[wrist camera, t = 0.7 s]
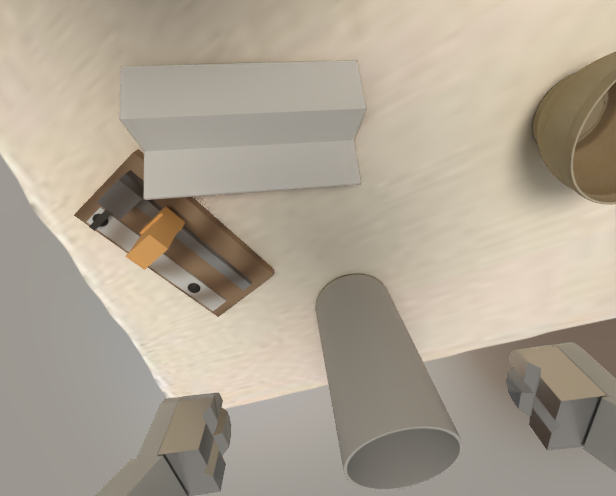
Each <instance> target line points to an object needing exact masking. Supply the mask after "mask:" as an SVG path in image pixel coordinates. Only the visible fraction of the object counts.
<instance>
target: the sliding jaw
mask: <svg viewBox="0 0 616 496" xmlns="http://www.w3.org/2000/svg"><path fill="white" fill-rule="evenodd" d="M184 224H185V222H184V221H183V220H182V219H181V218H179V217H178V216H177V215H176V214H175V213H173V212H172V211H171V210H170V209H169V208H167V207H166V206H165V207H164V208H163V209H162V210H161V211H160V212H159V213H158V214H157V215H156V216H155V217H154V218H153V219H151V220H150V221H149V222H148V223H147V224H146V225H145V226H144V228H143V229H142V230H141V232H140V234H142V235H141V236H140V238H139V239H138V240H137V242H136V243H135V244H134V246H133V247H132V249H131V250H130V251H129V253H128V254H127V255H126V257H127V258H129V259H130V260H131V261H133V262H134V263H136V264H137V265H139V266H140V267H141V268H143V269H144V270H145V269H146V268H147V267H148V266H150V265H151V264H152V263H153V262H154V261H155V260H156V259H157V258H159V257H160V256H161V255H162V254H163V253H164V252H165V251H166V250H168V248H169V246H170V245H171V243H172V241H173V239H174V237H175V235H176V234H177V233H178V232H179V231H180V230H181V229H182V227H183V226H184Z"/></svg>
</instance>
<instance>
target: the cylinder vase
mask: <svg viewBox="0 0 616 496" xmlns="http://www.w3.org/2000/svg"><path fill="white" fill-rule="evenodd" d="M316 315H317V321H318V326H319V332H320V338H321V344H322V349H323V355H324V361H325V367H326V372H327V378H328V384H329V390H330V395H331V401H332V407H333V413H334V418H335V423H336V430H337V435H338V441H339V447H340V453H341V459H342V464H343V470H344V474H345V477H346V478H347V480H348V481H350V482H351V483H352V484H354V485H356V486H358V487H361V488H365V489H370V490H396V489H403V488H408V487H412V486H416V485H419V484H422V483H425V482H427V481H430V480H432V479H434V478H436V477H438V476H440V475H441V474H443V473H445V472H446V471H447V470H449V469H450V468H451V467H452V466H453V465H455V463H456V462H457V461H458V460H459V458H460V457H461V455H462V452H463V442H462V440H461V438H460V436H459V434H458V432H457V430H456V428H455V426H454V424H453V422H452V420H451V418H450V416H449V414H448V412H447V410H446V408H445V406H444V404H443V402H442V400H441V397H440V395H439V394H438V392H437V389H436V388H435V385H434V384H433V381H432V379H431V377H430V375H429V373H428V371H427V369H426V367H425V365H424V363H423V361H422V359H421V357H420V355H419V353H418V351H417V349H416V347H415V345H414V343H413V341H412V339H411V337H410V335H409V333H408V331H407V329H406V327H405V325H404V323H403V321H402V319H401V317H400V315H399V313H398V311H397V309H396V307H395V305H394V303H393V301H392V299H391V297H390V295H389V293H388V291H387V289H386V287H385V286H384V285H383V284H382V283H381V282H380V281H379V280H377V279H376V278H374V277H371V276H368V275H362V274H353V275H347V276H343V277H340V278H338V279H336V280H334V281H332V282H331V283H329V284H328V285H327V286H326V287H325V288H324V289H323V290H322V292H321V293H320V295H319V296H318V299H317V302H316Z"/></svg>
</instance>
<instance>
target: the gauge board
mask: <svg viewBox="0 0 616 496" xmlns="http://www.w3.org/2000/svg"><path fill="white" fill-rule="evenodd" d="M165 206H166V207H167V208H169V209H170V210H171V211H172V212H173V213H175V214H176V215H177V216H178V217H179V218H181V219H182V220H183V221H184V222H185V224H184V226H183V227H182V229H181V230H180V231H179V232H178V233H177V234H176V235H175V237H174V239H173V241H172V243H171V245H170V246H169V248H168V250H166V251H165V252H164V253H163V254H162V255H161V256H160V257H159V258H157V259H156V260H155V261H154V262H153V263H152V264H151V265H150V266H148V268H149V269H151V270H152V271H154V272H155V273H157V274H158V275H159V276H161V277H162V278H164V279H165V280H166V281H168V282H169V283H171V284H172V285H174V286H175V287H176V288H178V289H179V290H181V291H182V292H184V293H185V294H186V295H188V296H189V297H191V298H192V299H193V300H195V301H196V302H198V303H199V304H201V305H202V306H203V307H205V308H206V309H208V310H209V311H211V312H212V313H213V314H215V315H216V316H218V317H219V316H220V315H221V314H223V313H224V312H225V311H227V310H228V309H229V308H231V307H232V306H233V305H235V304H236V303H237V302H239V301H240V300H241V299H243V298H244V297H245V296H247V295H248V294H249V293H250V292H252V291H253V290H254V289H256V288H257V287H258V286H260V285H261V284H262V283H264V282H265V281H266V280H268V279H269V278H270V277H272V276H273V275H274V269H273V268H272V267H271V266H270V265H268V264H267V263H266V262H265V261H264V260H263V259H262V258H261V257H259V256H258V255H257V254H256V253H255V252H254V251H253V250H252V249H250V248H249V247H248V246H247V245H246V244H245V243H244V242H242V241H241V240H240V239H239V238H238V237H237V236H236V235H235V234H233V233H232V232H231V231H230V230H229V229H228V228H227V227H226V226H224V225H223V224H222V223H221V222H220V221H219V220H218V219H217V218H215V217H214V216H213V215H212V214H211V213H210V212H209V211H207V210H206V209H205V208H204V207H203V206H202V205H201V204H200V203H198V202H197V201H196V200H195V199H194V198H193V197H179V198H165V199H151V200H145V199H144V154H143V153H142V152H141V151H140V150H139V149H138V150H136V151H135V152H133V153H132V154H131V156H130V157H129V158H128V159H127V160H126V161H125V162H124V163H123V164H122V165H121V166H120V167H119V168H118V169H117V170H116V171H115V172H114V173H113V175H112V176H111V177H110V178H109V179H108V180H107V181H106V182H105V183H104V184H103V185H102V186H101V187H100V188H99V189H98V190H97V191H96V192H95V194H94V195H93V196H92V197H91V198H90V199H89V200H88V201H87V202H86V203H85V204H84V205H83V206H82V207H81V208H80V209H79V210H78V211H77V212H76V214H75V215H74V216H76V217H77V218H78V219H80V220H81V221H83V222H84V223H86V224H87V225H88V226H89V227H90V228H92V229H93V230H94V231H97V232H98V233H100V234H101V235H103V236H104V237H105V238H107V239H108V240H110V241H111V242H113V243H114V244H115V245H117V246H118V247H120V248H121V249H122V250H124V251H125V252H127V253H129V251H130V250H131V249H132V247H133V246H134V244H135V243H136V242H137V240H138V239H139V238H140V236H141V235H142V234H140V232H141V230H142V229H143V228H144V226H145V225H146V224H147V223H148V222H149V221H150V220H151V219H153V218H154V217H155V216H156V215H157V214H158V213H159V212H160V211H161V210H162V209H163V208H164V207H165Z"/></svg>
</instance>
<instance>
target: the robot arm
mask: <svg viewBox="0 0 616 496" xmlns="http://www.w3.org/2000/svg"><path fill="white" fill-rule="evenodd" d="M509 362H510V363H511V364H512V366H513V367H512V368H511V369H510V370H509V371H508V372H507V377H506V384H507V388H508V392H509V394H510V396H511V398H512V400H513V402H514V403H515V405H516V406H517V408H518V409H519V410H521V411H523V412H524V413H526V414H527V415H529V416H530V421H529V425H530V427H531V428H532V429H533V431H534V432H535V434H536V435H537V436H538V438H539V439H540V441H541V442H542V444H543V445H544V447H545V448H546V449H547V450H555V449H565V448H575V447H583V449H584V450H585V451H587V452H589V453H590V454H591V455H592V456H594V457H595V458H597V459H598V460H599V461H601V462H602V463H604V464H605V465H606V466H608V467H609V468H611V469H612V470H613V471H615V472H616V379H615V378H614V377H613V376H612V375H611V374H610V373H609V372H608V371H606V370H605V369H604V368H603V367H602V366H601V365H600V364H598V362H597V361H595V360H594V359H593V358H592V357H591V356H590V355H589V354H588V353H587V352H585V351H584V350H583V349H582V348H581V347H580V346H579V345H577V344H575V343H573V342H569V343H562V344H555V345H547V346H540V347H533V348H528V349H521V350H514V351H513V352H512V353H511V354H510V358H509ZM222 402H223V400H222V398H221V396H220V394H219V393H210V394H201V395H192V396H183V397H176V398H168V399H165V400H164V401H163V402H162V403H161V404H160V406H159V408H158V411H157V413H156V415H155V418H154V420H153V422H152V424H151V427H150V429H149V431H148V434H147V436H146V438H145V440H144V443H143V445H142V447H141V450H140V452H139V454H138V456H137V459H131V460H130V461H129V462H128V463H127V464H126V465H125V466H124V467H123V468H122V469H121V470H120V471H119V472H118V473H117V474H116V475H115V476H114V477H113V478H112V479H111V480H110V481H109V482H108V483H107V484H106V485H105V486H104V487H103V488H102V489H101V490H100V491H99V492H98V493H97V494H96V495H95V496H194V495H200V494H207V493H213V492H219V491H221V485H222V480H223V475H224V470H225V465H226V464H225V461H224V459H223V457H222V455H223V454H224V453H225V452H226V450H227V449H228V448H229V444H230V438H231V422H230V417H229V415H228V412H227V411H226V410H225V409H223V408H221V407H222Z"/></svg>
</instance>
